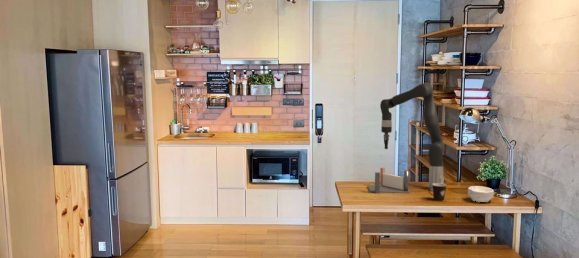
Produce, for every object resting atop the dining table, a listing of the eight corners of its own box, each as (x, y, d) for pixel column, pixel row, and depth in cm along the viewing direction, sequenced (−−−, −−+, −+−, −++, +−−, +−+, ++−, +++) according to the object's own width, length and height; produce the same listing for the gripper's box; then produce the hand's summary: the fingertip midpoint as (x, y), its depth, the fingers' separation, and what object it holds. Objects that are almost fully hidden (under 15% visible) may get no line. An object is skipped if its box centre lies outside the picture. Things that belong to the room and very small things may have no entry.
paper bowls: (496, 204, 284) (496, 192, 283) (470, 203, 286) (470, 191, 286) (489, 198, 299) (490, 186, 298) (465, 197, 301) (465, 185, 300)
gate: (404, 189, 317) (404, 171, 315) (402, 189, 315) (402, 171, 313) (382, 184, 330) (382, 167, 329) (380, 184, 329) (380, 167, 327)
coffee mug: (444, 198, 299) (444, 183, 297) (447, 201, 290) (447, 186, 289) (425, 197, 300) (426, 182, 299) (428, 201, 291) (429, 186, 290)
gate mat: (405, 187, 328) (405, 185, 328) (410, 193, 312) (410, 191, 311) (367, 186, 330) (367, 185, 330) (370, 192, 313) (370, 191, 313)
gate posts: (407, 191, 316) (407, 170, 314) (408, 192, 313) (409, 171, 311) (374, 192, 314) (374, 170, 312) (375, 193, 311) (375, 171, 309)
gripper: (390, 126, 334) (390, 150, 336) (392, 125, 347) (392, 147, 348) (380, 126, 336) (380, 150, 338) (382, 125, 349) (382, 147, 351)
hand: (386, 148), depth 343 cm, fingers closed
